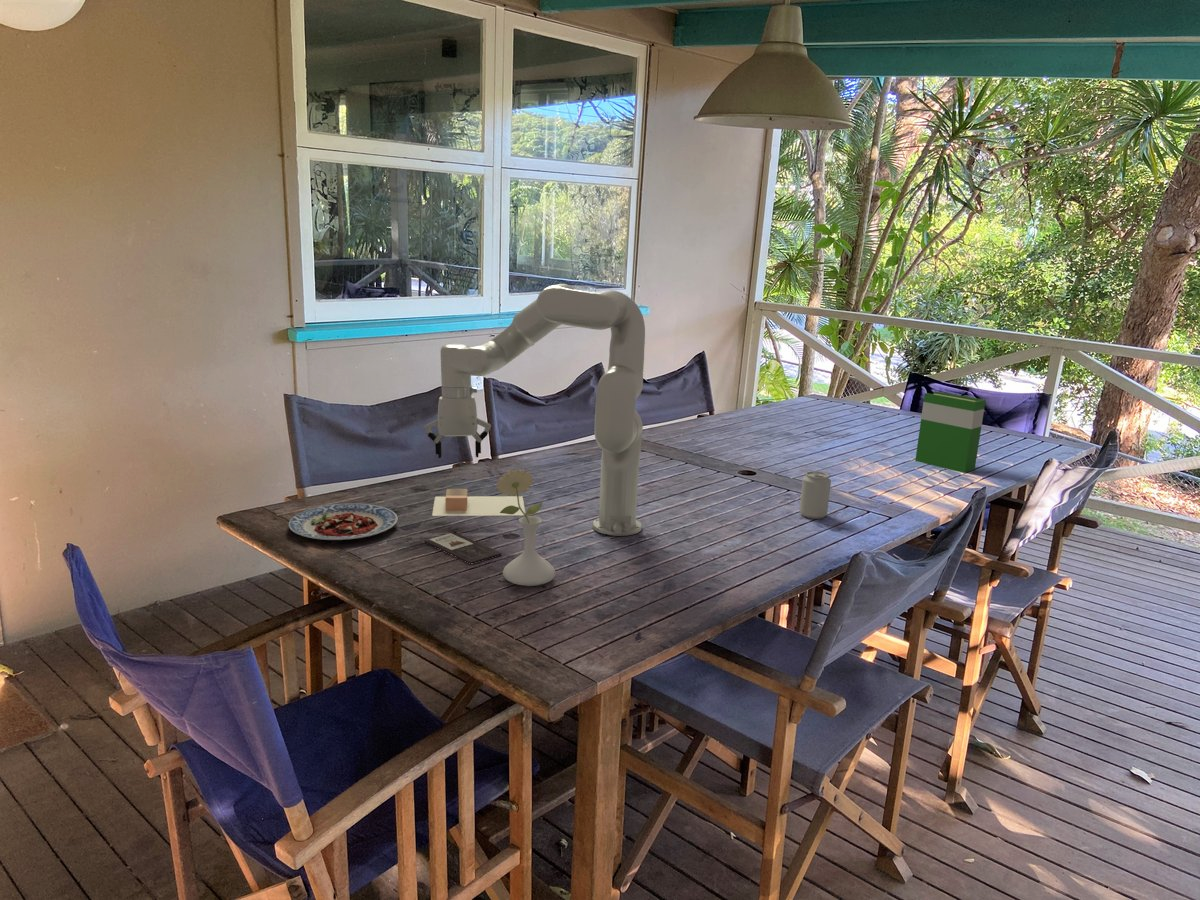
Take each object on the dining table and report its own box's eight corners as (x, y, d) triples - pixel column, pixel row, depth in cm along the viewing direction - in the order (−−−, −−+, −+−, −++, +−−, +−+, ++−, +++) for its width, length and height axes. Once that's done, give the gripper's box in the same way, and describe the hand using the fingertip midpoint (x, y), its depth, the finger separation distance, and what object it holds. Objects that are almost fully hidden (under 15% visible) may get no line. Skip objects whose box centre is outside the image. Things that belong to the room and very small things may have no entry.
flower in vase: (555, 570, 191) (559, 462, 185) (554, 591, 180) (558, 477, 174) (497, 569, 191) (498, 460, 184) (492, 590, 180) (493, 476, 173)
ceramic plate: (419, 526, 216) (419, 515, 215) (336, 556, 195) (336, 543, 194) (350, 504, 230) (350, 494, 229) (266, 530, 209) (265, 518, 208)
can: (807, 520, 232) (811, 478, 229) (794, 511, 239) (798, 470, 235) (832, 519, 234) (836, 477, 231) (818, 510, 241) (822, 469, 237)
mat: (525, 518, 224) (525, 515, 224) (432, 518, 221) (432, 515, 221) (522, 499, 239) (522, 496, 239) (435, 499, 236) (435, 496, 236)
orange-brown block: (467, 501, 233) (467, 488, 232) (466, 510, 226) (466, 497, 225) (446, 501, 233) (446, 488, 232) (445, 510, 225) (445, 498, 224)
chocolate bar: (470, 562, 192) (424, 540, 205) (470, 566, 193) (424, 544, 205) (501, 553, 199) (455, 532, 211) (501, 556, 199) (455, 535, 211)
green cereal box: (915, 461, 298) (924, 393, 292) (925, 457, 303) (935, 391, 297) (964, 473, 285) (975, 402, 279) (974, 469, 290) (985, 400, 284)
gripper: (490, 389, 226) (491, 452, 230) (423, 390, 224) (426, 453, 228) (490, 394, 219) (491, 459, 223) (421, 395, 217) (424, 461, 221)
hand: (458, 456), depth 225 cm, fingers open, 9 cm apart
